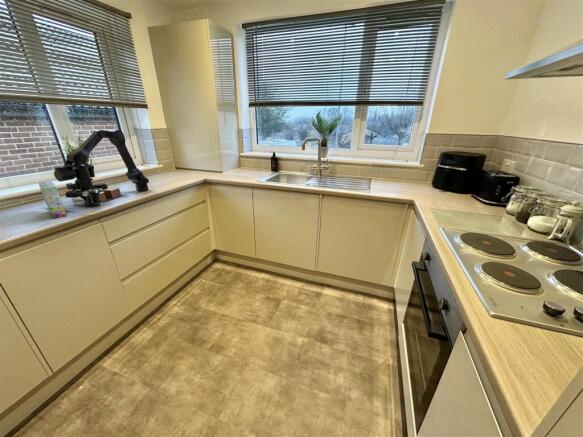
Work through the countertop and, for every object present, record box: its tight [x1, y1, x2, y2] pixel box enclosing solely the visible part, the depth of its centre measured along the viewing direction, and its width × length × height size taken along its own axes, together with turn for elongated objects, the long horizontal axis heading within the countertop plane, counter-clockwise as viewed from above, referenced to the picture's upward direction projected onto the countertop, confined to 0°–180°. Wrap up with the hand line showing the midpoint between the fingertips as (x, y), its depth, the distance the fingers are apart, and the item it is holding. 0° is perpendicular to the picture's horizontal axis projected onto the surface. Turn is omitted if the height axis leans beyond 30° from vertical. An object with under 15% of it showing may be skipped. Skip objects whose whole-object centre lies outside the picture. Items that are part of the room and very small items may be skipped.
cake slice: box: [87, 192, 106, 202], centre depth 139 cm, size 12×4×5 cm, turn 75°
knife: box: [71, 198, 102, 208], centre depth 131 cm, size 17×2×4 cm, turn 78°
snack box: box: [38, 180, 67, 219], centre depth 121 cm, size 21×6×15 cm, turn 48°
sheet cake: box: [98, 186, 122, 198], centre depth 147 cm, size 12×6×5 cm, turn 78°
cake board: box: [81, 194, 128, 204], centre depth 144 cm, size 20×16×1 cm
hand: (93, 205), depth 130 cm, fingers closed on knife, 2 cm apart
